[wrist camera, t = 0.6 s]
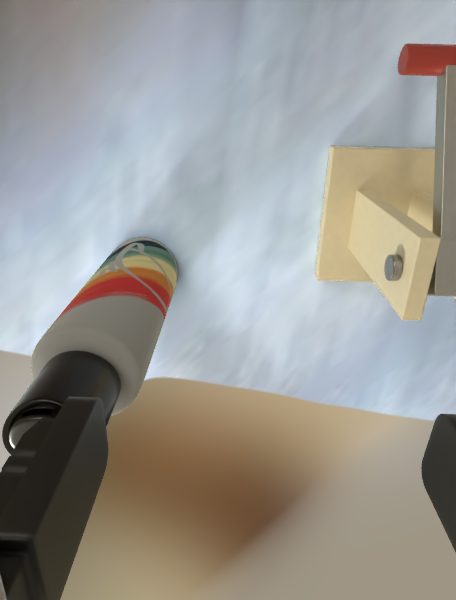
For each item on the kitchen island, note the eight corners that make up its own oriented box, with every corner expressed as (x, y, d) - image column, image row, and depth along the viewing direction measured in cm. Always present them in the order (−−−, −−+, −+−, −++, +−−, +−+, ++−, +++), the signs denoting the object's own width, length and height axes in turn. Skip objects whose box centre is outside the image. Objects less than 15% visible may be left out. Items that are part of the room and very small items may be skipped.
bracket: (329, 145, 31) (388, 174, 19) (454, 149, 31) (594, 180, 19) (314, 274, 35) (354, 365, 23) (424, 277, 35) (521, 370, 23)
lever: (394, 58, 24) (412, 31, 21) (488, 60, 24) (517, 34, 21) (387, 294, 24) (404, 294, 21) (480, 297, 24) (508, 297, 21)
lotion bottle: (172, 231, 34) (95, 383, 16) (184, 296, 36) (130, 493, 18) (102, 240, 34) (-51, 397, 16) (119, 303, 37) (3, 502, 18)
